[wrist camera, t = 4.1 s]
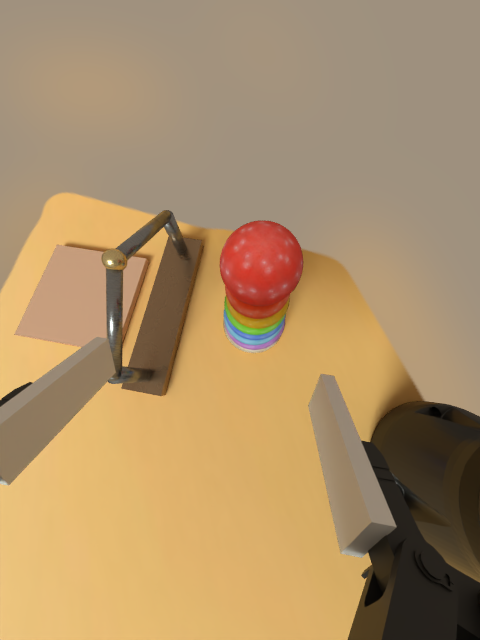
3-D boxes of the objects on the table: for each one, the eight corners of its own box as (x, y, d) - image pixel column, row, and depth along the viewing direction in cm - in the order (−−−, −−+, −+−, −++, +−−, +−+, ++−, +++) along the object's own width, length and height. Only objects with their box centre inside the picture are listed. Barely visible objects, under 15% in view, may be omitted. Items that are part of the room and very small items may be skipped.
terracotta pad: (149, 262, 31) (146, 258, 30) (119, 353, 28) (114, 353, 27) (62, 248, 32) (56, 244, 31) (21, 336, 28) (14, 334, 27)
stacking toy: (237, 290, 30) (230, 158, 12) (289, 310, 29) (367, 200, 11) (214, 340, 28) (166, 273, 10) (270, 362, 27) (326, 335, 9)
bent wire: (165, 394, 26) (85, 413, 13) (127, 387, 26) (11, 398, 13) (203, 246, 32) (176, 152, 19) (172, 241, 32) (122, 145, 19)
